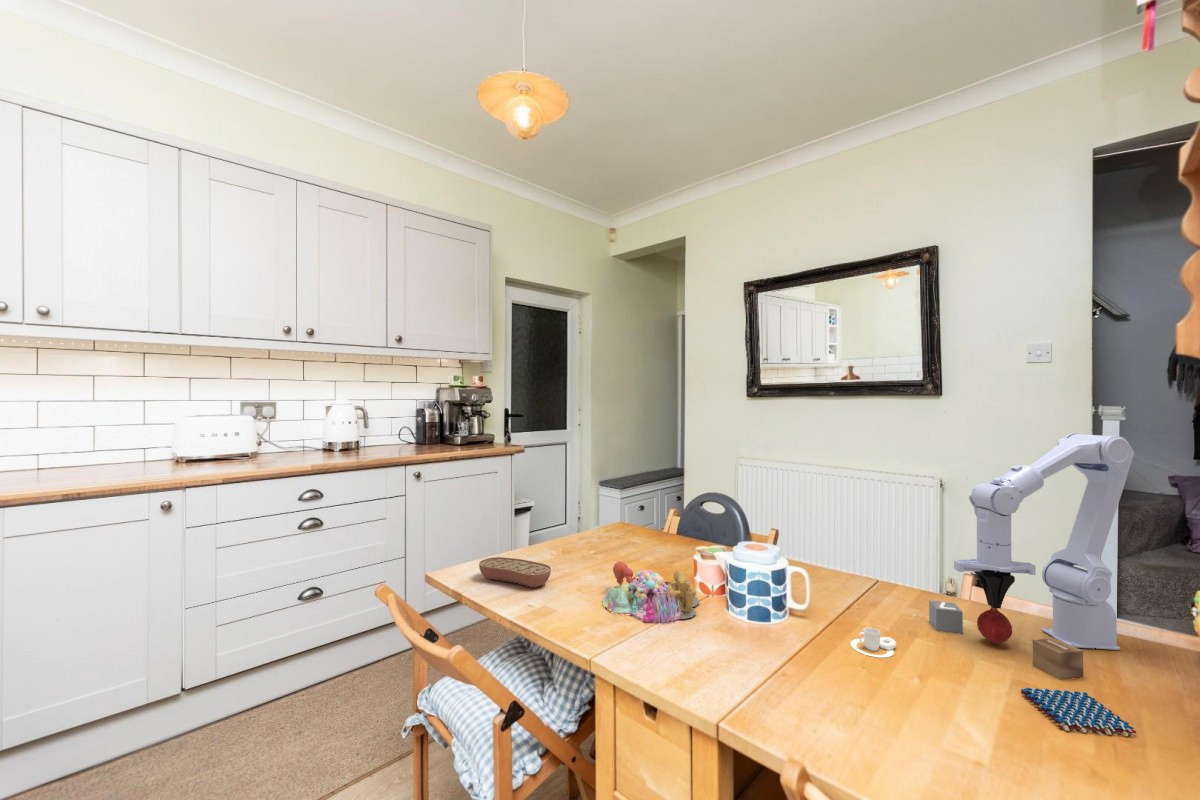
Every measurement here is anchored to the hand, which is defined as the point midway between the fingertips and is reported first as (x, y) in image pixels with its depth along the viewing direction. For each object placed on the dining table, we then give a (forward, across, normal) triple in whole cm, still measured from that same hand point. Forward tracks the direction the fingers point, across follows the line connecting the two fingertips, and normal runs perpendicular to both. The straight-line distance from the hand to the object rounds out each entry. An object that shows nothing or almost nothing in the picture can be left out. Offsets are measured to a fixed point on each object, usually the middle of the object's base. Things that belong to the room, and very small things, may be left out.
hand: (994, 606), depth 105 cm
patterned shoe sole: (+9, -112, +23) cm, 114 cm away
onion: (+8, 0, 0) cm, 8 cm away
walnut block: (+8, +5, -10) cm, 14 cm away
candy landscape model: (+9, -72, +12) cm, 74 cm away
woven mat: (+9, -2, -24) cm, 26 cm away
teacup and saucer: (+9, -24, -7) cm, 26 cm away
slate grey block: (+8, -6, +7) cm, 12 cm away
